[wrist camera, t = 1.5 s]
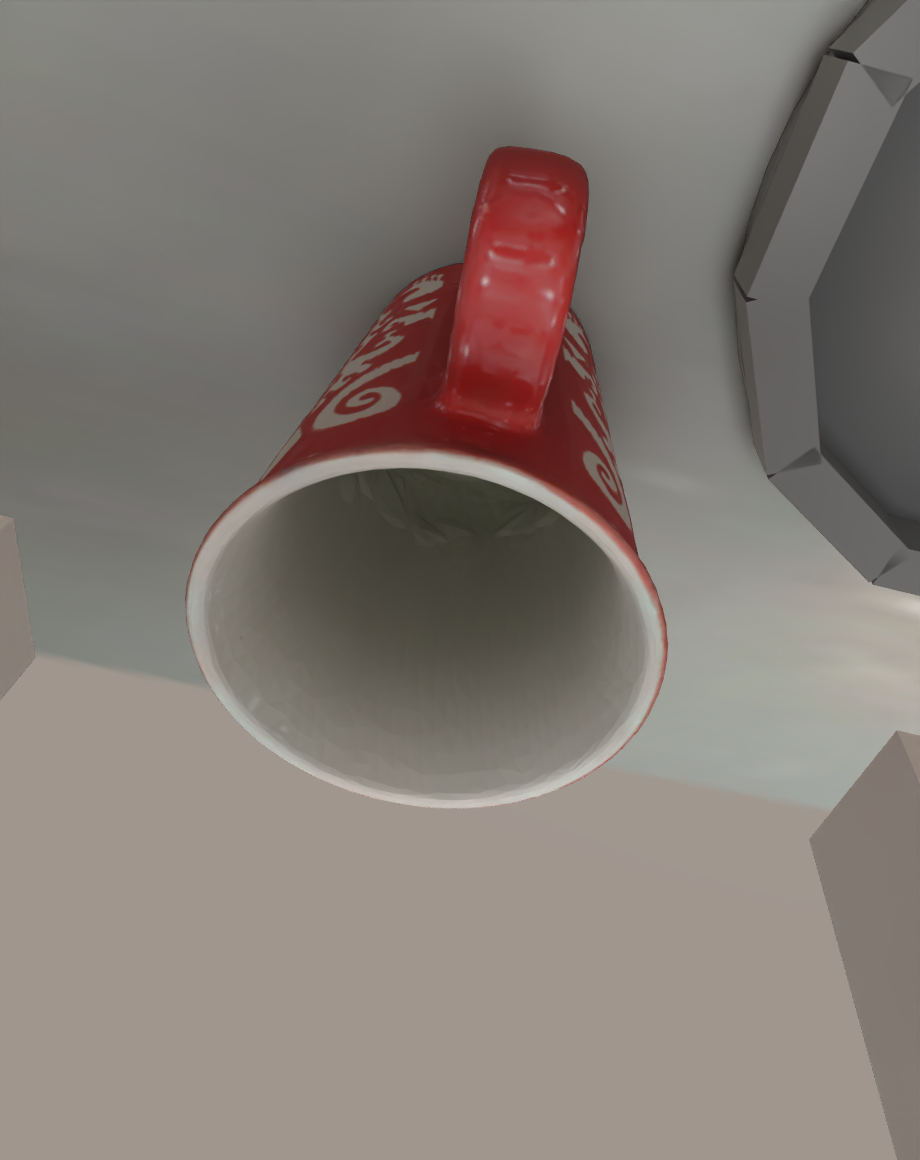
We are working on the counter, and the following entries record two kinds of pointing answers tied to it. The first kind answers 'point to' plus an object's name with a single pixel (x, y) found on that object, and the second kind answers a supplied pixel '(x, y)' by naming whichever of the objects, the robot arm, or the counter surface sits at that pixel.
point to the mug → (446, 539)
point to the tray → (843, 299)
